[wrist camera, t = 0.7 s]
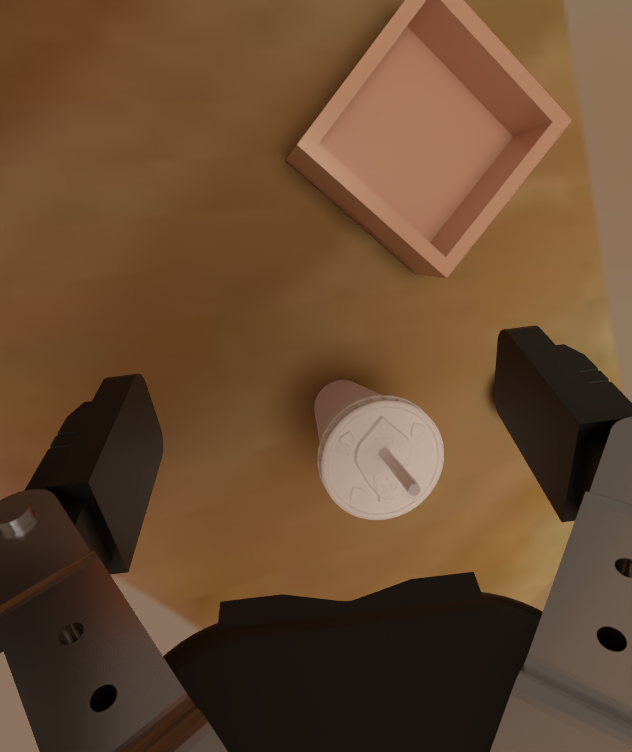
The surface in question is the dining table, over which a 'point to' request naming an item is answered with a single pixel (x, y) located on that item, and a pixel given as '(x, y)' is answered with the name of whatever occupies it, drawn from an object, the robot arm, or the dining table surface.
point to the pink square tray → (430, 134)
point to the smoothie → (375, 451)
